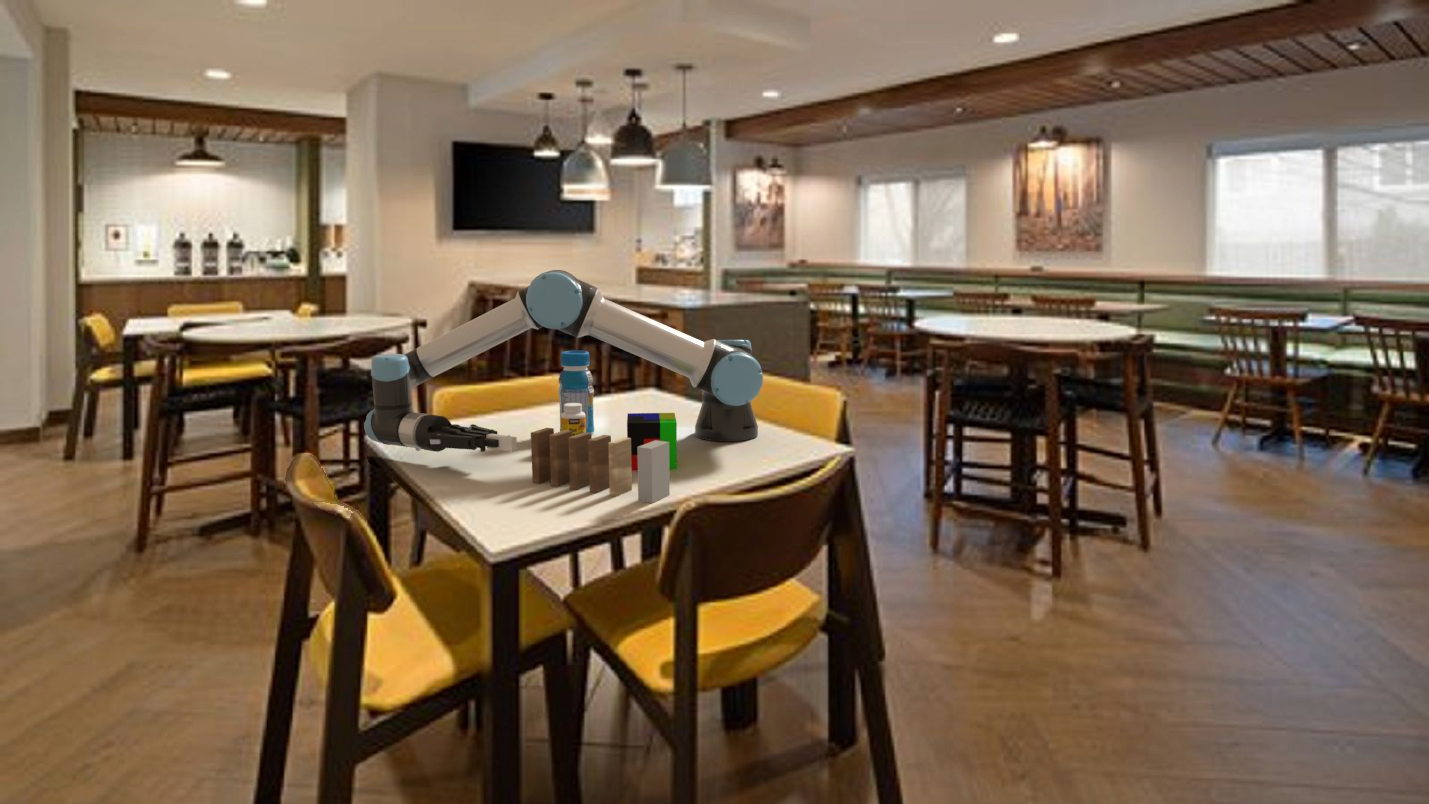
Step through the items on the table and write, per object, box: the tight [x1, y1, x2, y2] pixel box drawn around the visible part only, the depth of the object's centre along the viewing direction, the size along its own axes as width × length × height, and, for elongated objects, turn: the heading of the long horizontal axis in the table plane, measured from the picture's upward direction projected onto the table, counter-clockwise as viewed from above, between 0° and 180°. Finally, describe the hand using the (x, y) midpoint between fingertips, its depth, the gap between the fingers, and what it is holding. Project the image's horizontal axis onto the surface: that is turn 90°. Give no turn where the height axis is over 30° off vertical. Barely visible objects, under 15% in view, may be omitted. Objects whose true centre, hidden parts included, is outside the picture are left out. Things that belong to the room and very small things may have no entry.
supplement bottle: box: [561, 403, 586, 436], centre depth 197 cm, size 6×6×10 cm
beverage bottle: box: [557, 350, 595, 436], centre depth 210 cm, size 8×8×20 cm
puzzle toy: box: [626, 412, 678, 472], centre depth 184 cm, size 10×10×10 cm
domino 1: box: [530, 427, 555, 485], centre depth 171 cm, size 2×5×10 cm, turn 152°
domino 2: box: [549, 430, 572, 488], centre depth 169 cm, size 2×5×10 cm, turn 152°
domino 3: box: [569, 432, 593, 491], centre depth 167 cm, size 2×5×10 cm, turn 152°
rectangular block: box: [637, 440, 671, 504], centre depth 159 cm, size 3×6×10 cm, turn 152°
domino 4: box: [588, 434, 612, 494], centre depth 165 cm, size 2×5×10 cm, turn 152°
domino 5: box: [608, 436, 633, 497], centre depth 163 cm, size 2×5×10 cm, turn 152°
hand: (514, 444), depth 174 cm, fingers closed
